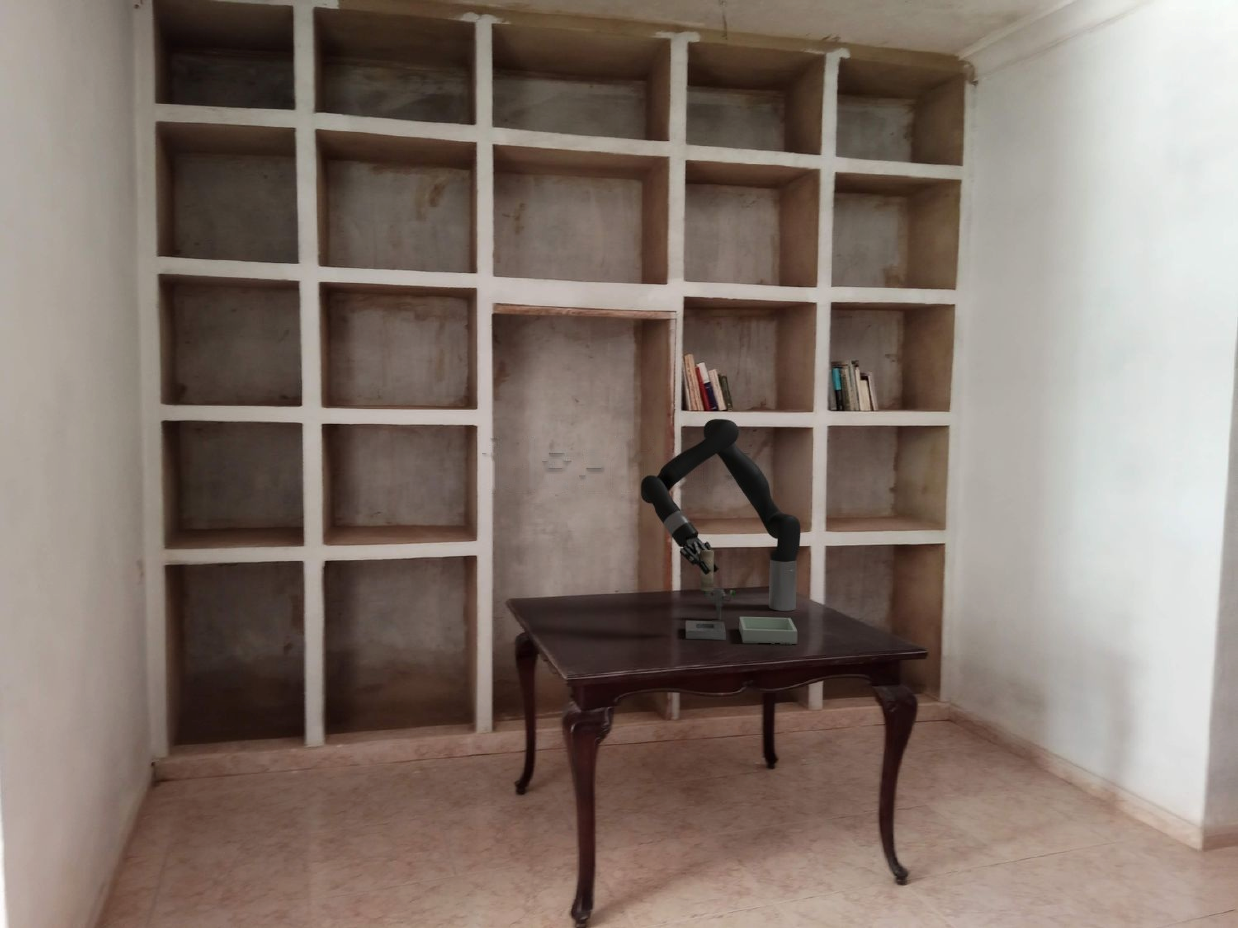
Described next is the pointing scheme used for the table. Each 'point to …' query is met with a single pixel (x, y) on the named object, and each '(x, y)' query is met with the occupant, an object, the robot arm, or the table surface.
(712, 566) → the dowel
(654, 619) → the table surface
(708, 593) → the mechanical component
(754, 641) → the tray
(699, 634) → the socket block
